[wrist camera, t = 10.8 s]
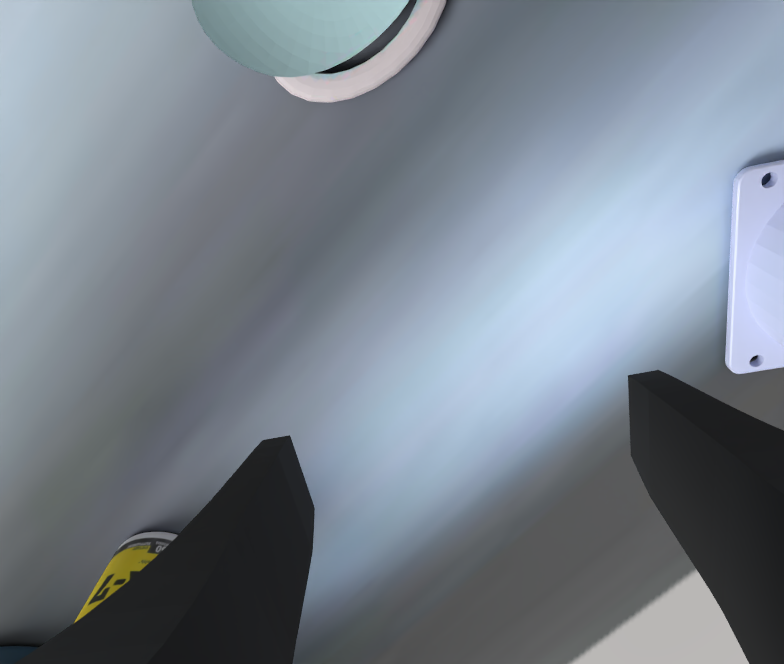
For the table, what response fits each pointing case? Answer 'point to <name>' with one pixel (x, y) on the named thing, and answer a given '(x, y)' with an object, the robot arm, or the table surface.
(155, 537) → the supplement bottle
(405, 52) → the pacifier
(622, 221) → the table surface
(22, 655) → the canister
